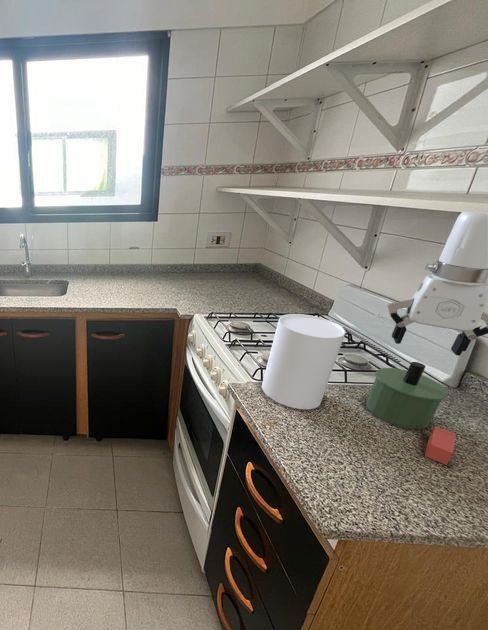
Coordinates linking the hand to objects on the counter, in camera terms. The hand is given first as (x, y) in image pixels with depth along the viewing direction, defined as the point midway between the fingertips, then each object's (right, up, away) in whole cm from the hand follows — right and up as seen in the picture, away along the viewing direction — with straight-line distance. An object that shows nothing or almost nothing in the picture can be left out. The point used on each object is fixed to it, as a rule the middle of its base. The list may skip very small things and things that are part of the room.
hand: (424, 346), depth 77 cm
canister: (-20, -14, +15) cm, 29 cm away
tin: (0, -17, +7) cm, 18 cm away
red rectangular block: (-1, -22, -4) cm, 22 cm away
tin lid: (0, -9, +4) cm, 10 cm away
